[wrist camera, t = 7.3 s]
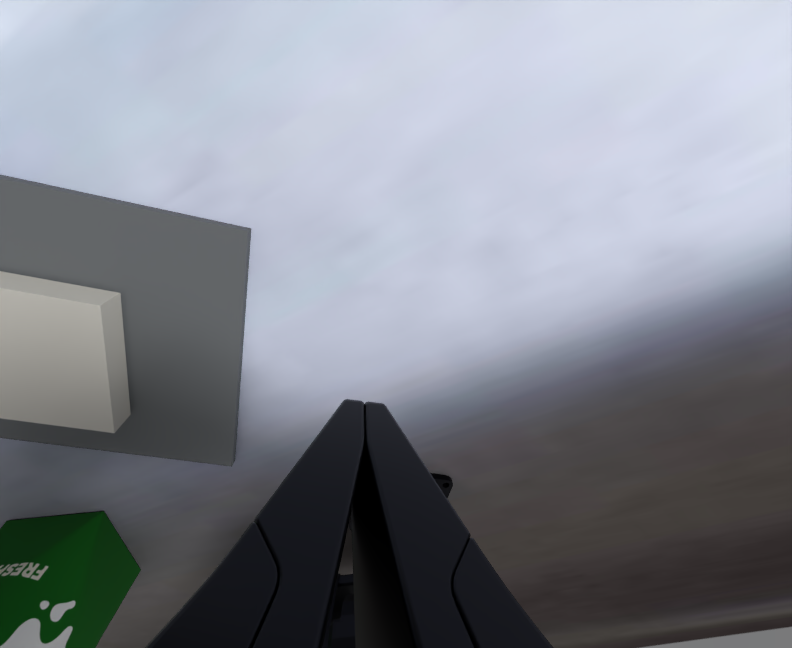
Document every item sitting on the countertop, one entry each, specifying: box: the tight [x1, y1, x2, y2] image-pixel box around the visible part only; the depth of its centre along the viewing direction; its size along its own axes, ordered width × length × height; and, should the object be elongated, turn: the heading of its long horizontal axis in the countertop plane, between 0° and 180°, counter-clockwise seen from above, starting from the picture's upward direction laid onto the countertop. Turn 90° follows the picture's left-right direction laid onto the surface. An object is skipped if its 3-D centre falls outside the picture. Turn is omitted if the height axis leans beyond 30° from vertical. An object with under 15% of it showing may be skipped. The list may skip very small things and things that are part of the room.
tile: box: [0, 271, 131, 433], centre depth 20 cm, size 8×2×8 cm
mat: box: [0, 175, 251, 466], centre depth 21 cm, size 16×20×1 cm
